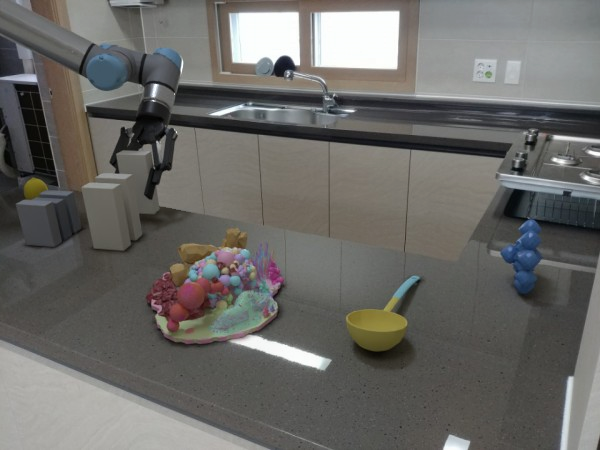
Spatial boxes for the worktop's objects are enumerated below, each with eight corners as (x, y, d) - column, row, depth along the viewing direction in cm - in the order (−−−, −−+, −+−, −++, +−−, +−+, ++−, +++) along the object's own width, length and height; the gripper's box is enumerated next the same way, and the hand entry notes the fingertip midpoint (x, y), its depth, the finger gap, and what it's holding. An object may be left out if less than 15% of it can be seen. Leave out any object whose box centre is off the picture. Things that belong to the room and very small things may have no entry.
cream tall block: (132, 207, 126) (122, 150, 121) (159, 209, 125) (151, 151, 119) (126, 212, 124) (115, 153, 118) (153, 214, 122) (144, 154, 117)
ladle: (334, 353, 76) (336, 314, 75) (391, 301, 99) (393, 271, 98) (395, 367, 72) (398, 326, 71) (439, 309, 95) (441, 278, 94)
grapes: (496, 268, 99) (504, 207, 94) (536, 272, 97) (546, 211, 92) (495, 299, 89) (503, 233, 84) (539, 305, 87) (550, 238, 82)
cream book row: (113, 233, 119) (102, 172, 114) (142, 235, 118) (132, 174, 112) (93, 248, 112) (80, 185, 107) (123, 250, 111) (112, 186, 105)
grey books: (54, 226, 124) (45, 188, 120) (81, 228, 122) (73, 189, 118) (26, 244, 115) (15, 203, 111) (54, 247, 113) (44, 205, 110)
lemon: (26, 207, 136) (19, 177, 133) (49, 202, 139) (42, 172, 135) (30, 213, 132) (22, 183, 128) (53, 208, 134) (47, 178, 131)
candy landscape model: (133, 285, 97) (125, 239, 93) (251, 254, 107) (248, 211, 104) (175, 359, 77) (167, 304, 73) (316, 312, 87) (315, 261, 84)
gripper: (200, 117, 128) (180, 205, 120) (125, 116, 133) (100, 201, 125) (188, 99, 122) (166, 191, 114) (109, 98, 126) (83, 187, 118)
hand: (132, 196), depth 119 cm, fingers closed on cream tall block, 7 cm apart
